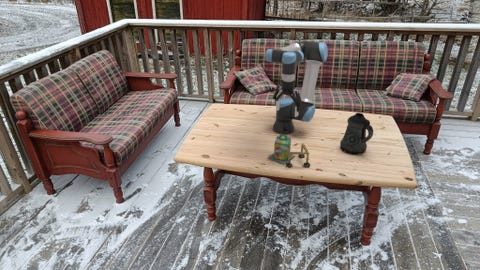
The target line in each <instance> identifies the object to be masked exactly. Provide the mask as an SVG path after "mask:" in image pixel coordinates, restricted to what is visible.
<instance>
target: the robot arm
mask: <svg viewBox="0 0 480 270" xmlns="http://www.w3.org/2000/svg"><path fill="white" fill-rule="evenodd" d="M328 53H329V51H328V46H327V44H326V43H325V42H321V41H320V42H318V41H311V40H310V41H308V40H301V41H296V42H291V43H290V44H289V45H288V46H283V47H280V48H276V49H274V48H273V49H272V48H268V49H267V50H266V51H265V58H264V59H265V61H266V62H270V63H275V64H281V84H277V86H276V89H275V91H274V94H273V96H272V100H274V105H275V121H274V123H273V126H272V130H273V132H274V133H276V134H278V135H280V134H281V135H289V134H292V133H293V132H294V130H295V126H294V122H293V120H295V121H300V122H303V123H304V122H305V123H309V122H311V120H313V118H314V115H315V113H316V106H315V104H314V103H315V102H314V101H313V100H314V94H315V90H316V85H317V81H318V78H319V77H318V76H319V71H320V67H321V66H322V65H323V64H324V62H326V61H327V59H328ZM304 59H305V62H306V69H305V73H304V77H303V82H302V87H301V92H300V90H299V89H295V86H296V84H295V83H296V81H295V80H296V67H297V66H298V65H299V64H301V63H302V62H303V61H304ZM280 91H281V92H280ZM283 95H285V96H287V97H285V98H284V97H283ZM281 97H283V98H281Z"/></svg>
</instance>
